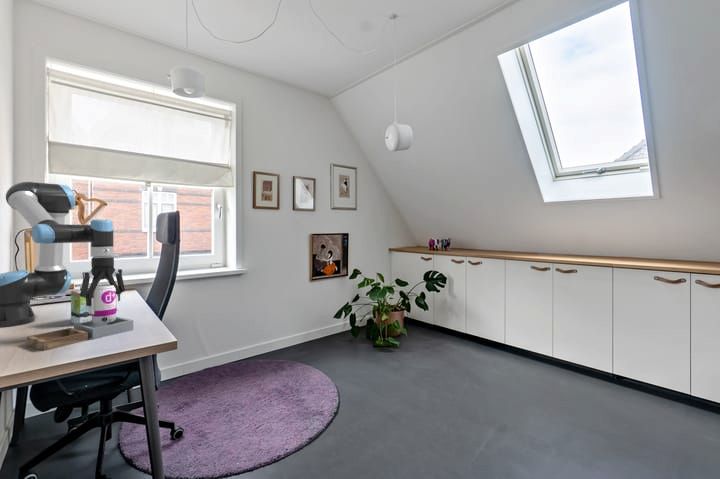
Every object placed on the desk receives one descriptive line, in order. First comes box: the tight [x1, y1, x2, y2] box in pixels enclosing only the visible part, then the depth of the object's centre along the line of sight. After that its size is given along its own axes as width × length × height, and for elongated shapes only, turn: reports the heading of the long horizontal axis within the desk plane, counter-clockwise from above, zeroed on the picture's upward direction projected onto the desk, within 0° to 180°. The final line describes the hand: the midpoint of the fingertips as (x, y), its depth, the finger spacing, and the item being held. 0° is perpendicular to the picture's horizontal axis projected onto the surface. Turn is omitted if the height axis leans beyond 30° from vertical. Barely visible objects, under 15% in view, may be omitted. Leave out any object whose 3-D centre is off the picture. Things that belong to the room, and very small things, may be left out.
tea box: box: [70, 289, 118, 325], centre depth 163 cm, size 15×10×15 cm, turn 148°
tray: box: [73, 316, 134, 340], centre depth 145 cm, size 15×15×4 cm
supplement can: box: [92, 284, 116, 324], centre depth 145 cm, size 8×8×15 cm
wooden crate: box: [26, 327, 89, 351], centre depth 131 cm, size 13×13×3 cm
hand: (103, 311), depth 145 cm, fingers closed on supplement can, 8 cm apart
